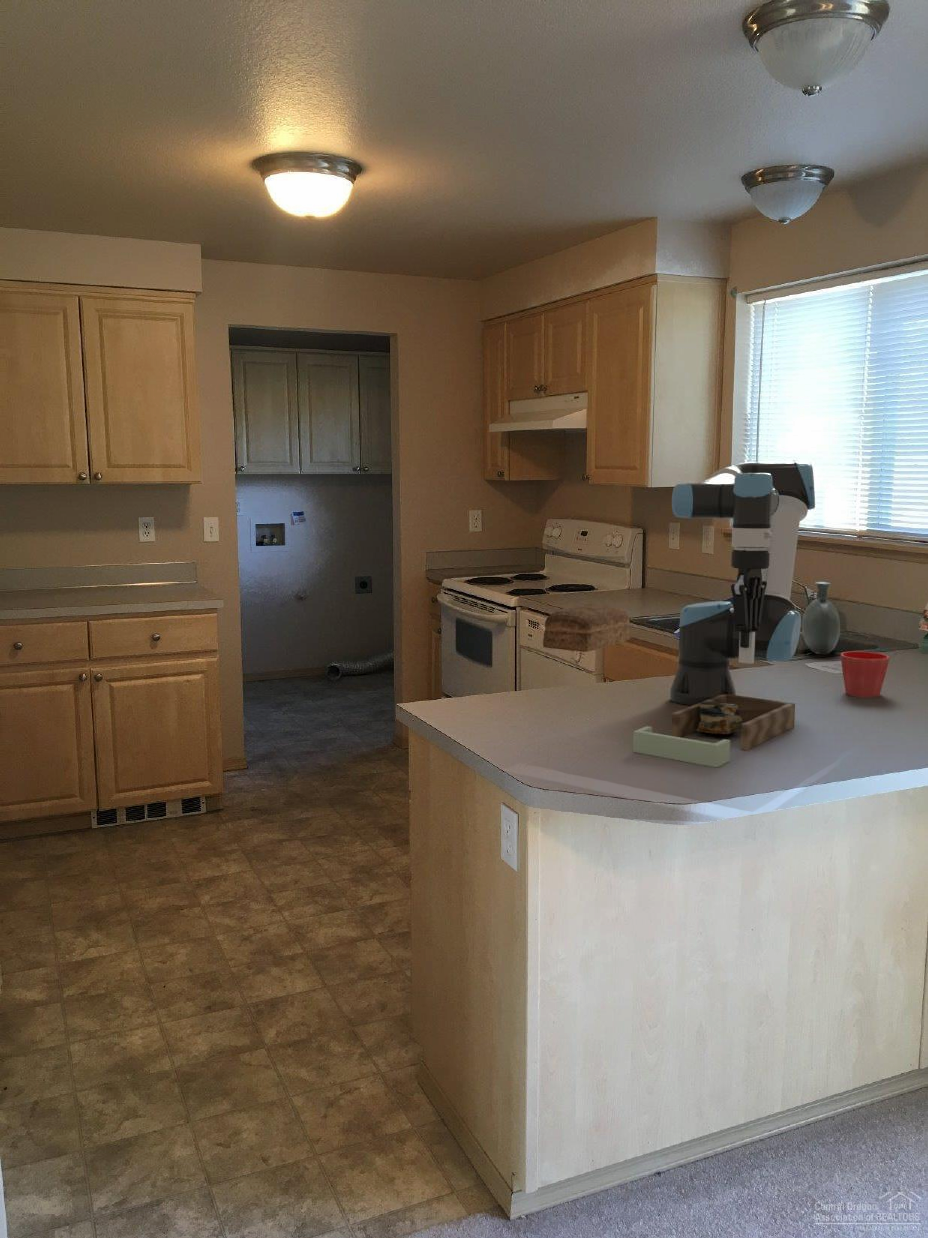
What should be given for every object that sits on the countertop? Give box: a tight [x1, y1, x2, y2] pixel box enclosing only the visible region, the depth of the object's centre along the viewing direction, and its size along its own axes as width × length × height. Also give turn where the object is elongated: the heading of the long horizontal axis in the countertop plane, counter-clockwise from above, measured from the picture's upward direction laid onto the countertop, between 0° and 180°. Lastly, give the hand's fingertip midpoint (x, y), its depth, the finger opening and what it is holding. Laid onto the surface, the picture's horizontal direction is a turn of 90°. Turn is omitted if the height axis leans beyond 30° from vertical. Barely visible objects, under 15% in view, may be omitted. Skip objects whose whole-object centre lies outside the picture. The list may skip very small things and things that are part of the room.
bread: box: [542, 602, 631, 653], centre depth 315 cm, size 17×30×13 cm, turn 143°
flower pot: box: [840, 650, 890, 698], centre depth 244 cm, size 11×11×10 cm
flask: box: [801, 581, 841, 656], centre depth 298 cm, size 12×17×22 cm
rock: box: [696, 702, 743, 735], centre depth 205 cm, size 9×9×6 cm
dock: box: [632, 725, 731, 768], centre depth 189 cm, size 5×17×4 cm, turn 51°
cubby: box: [670, 694, 796, 752], centre depth 207 cm, size 24×16×5 cm, turn 141°
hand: (746, 662), depth 209 cm, fingers closed
